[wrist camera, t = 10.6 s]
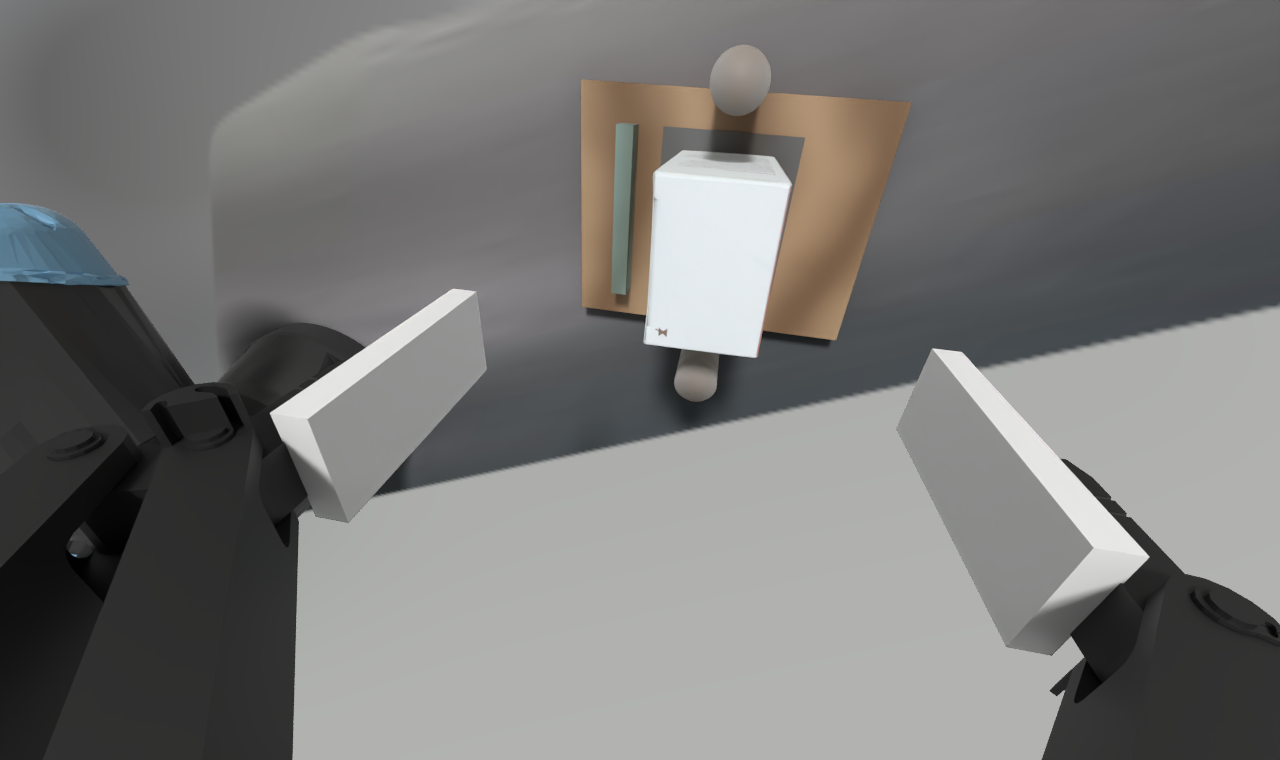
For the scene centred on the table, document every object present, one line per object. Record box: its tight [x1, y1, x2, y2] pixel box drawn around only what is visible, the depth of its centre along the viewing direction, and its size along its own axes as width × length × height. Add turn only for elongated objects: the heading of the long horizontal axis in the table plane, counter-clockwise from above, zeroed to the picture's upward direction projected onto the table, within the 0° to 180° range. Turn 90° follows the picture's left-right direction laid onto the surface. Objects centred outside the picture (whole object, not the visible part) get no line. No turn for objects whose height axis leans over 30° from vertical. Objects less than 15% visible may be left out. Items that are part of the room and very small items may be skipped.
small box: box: [643, 150, 792, 358], centre depth 24 cm, size 8×6×10 cm
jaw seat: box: [581, 45, 912, 402], centre depth 26 cm, size 18×17×9 cm
